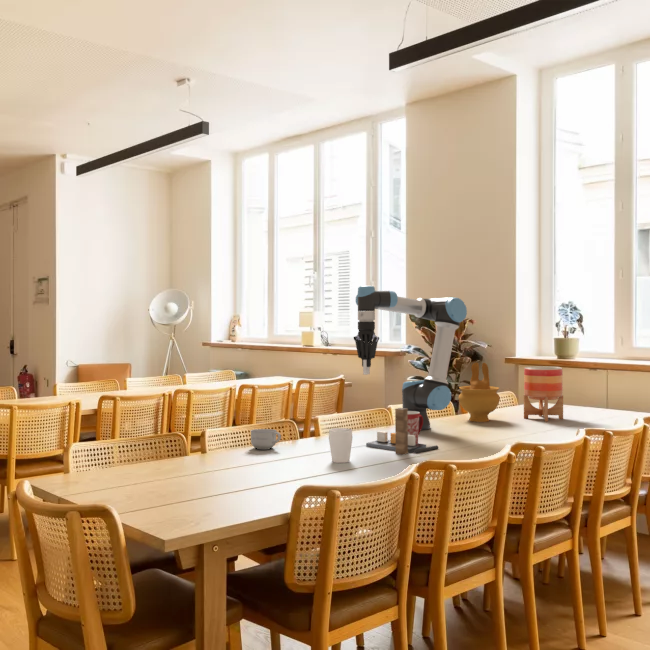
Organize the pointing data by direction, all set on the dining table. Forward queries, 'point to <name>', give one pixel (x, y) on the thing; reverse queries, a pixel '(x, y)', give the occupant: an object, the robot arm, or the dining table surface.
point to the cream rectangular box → (411, 440)
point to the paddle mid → (393, 438)
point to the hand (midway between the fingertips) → (366, 374)
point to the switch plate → (392, 445)
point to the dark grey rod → (426, 449)
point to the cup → (340, 444)
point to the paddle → (382, 436)
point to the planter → (543, 390)
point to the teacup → (264, 438)
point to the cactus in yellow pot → (479, 395)
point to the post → (401, 430)
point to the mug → (414, 424)
